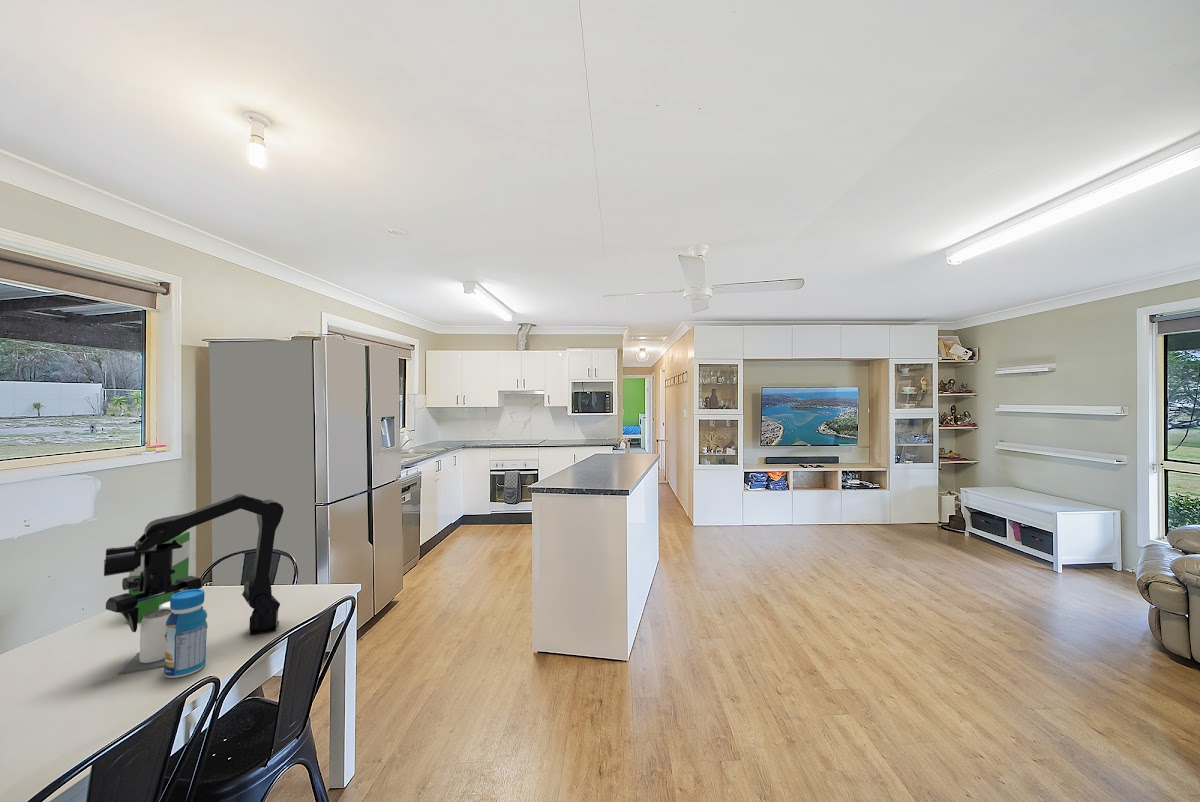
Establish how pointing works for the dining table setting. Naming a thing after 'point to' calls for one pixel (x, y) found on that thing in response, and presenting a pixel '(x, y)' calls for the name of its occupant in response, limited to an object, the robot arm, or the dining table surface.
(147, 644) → the can
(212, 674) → the dining table surface
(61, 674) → the dining table surface
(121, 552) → the robot arm
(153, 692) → the dining table surface
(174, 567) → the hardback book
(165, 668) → the beverage bottle
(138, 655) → the slate mat
